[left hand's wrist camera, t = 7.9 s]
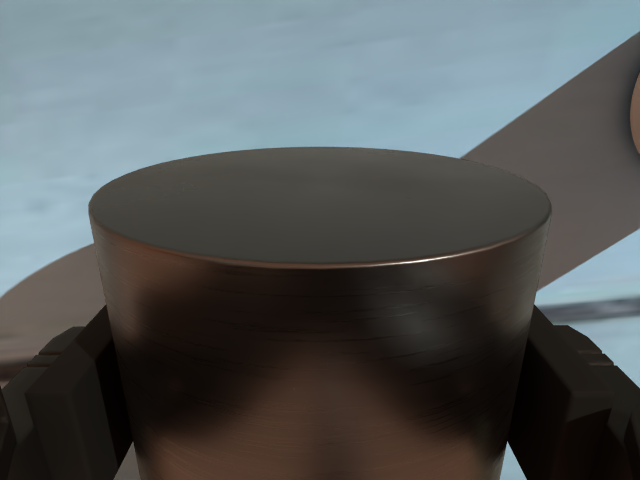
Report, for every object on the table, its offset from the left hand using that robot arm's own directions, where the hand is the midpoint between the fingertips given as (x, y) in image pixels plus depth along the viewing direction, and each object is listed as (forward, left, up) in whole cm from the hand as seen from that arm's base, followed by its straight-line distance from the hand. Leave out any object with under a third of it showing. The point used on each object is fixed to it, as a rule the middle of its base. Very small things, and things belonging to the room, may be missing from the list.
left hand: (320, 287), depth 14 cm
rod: (+8, +2, 0) cm, 9 cm away
